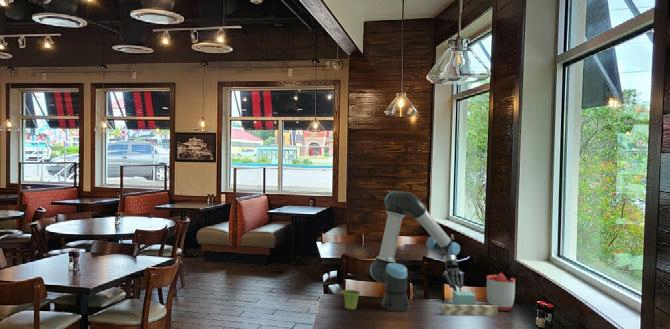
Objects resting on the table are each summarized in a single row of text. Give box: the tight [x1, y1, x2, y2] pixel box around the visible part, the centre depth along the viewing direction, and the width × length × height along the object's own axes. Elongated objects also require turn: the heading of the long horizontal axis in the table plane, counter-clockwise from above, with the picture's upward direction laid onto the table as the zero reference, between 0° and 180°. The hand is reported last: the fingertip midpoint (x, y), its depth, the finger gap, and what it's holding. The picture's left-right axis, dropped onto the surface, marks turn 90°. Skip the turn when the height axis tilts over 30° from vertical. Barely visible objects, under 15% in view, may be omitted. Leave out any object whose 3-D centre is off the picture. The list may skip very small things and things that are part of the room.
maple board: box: [440, 304, 499, 317], centre depth 241 cm, size 30×2×5 cm, turn 93°
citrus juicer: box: [486, 272, 516, 312], centre depth 256 cm, size 16×17×20 cm
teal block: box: [451, 290, 476, 305], centre depth 250 cm, size 10×8×9 cm
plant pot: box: [342, 289, 361, 310], centre depth 246 cm, size 9×9×9 cm
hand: (459, 297), depth 258 cm, fingers closed
